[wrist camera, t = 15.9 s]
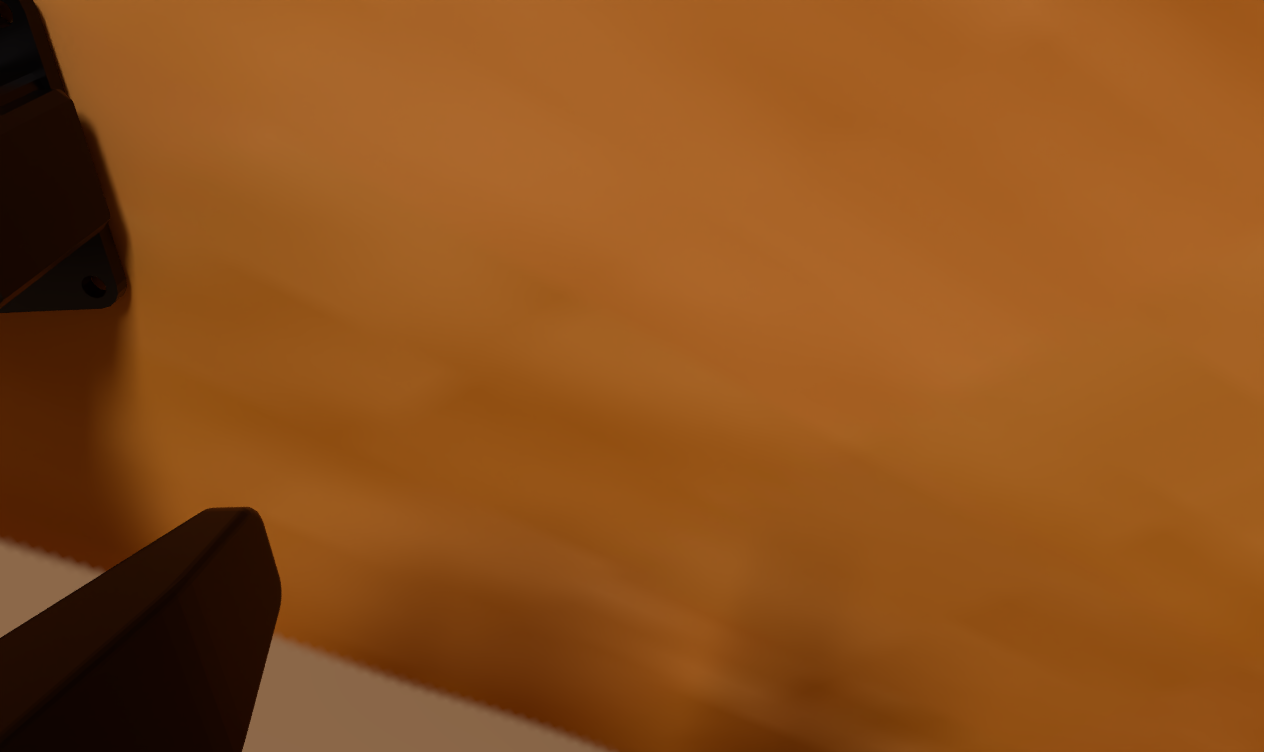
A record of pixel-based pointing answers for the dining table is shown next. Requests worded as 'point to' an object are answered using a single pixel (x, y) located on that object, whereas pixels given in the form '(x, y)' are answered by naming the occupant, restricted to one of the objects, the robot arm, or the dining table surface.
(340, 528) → the dining table surface
